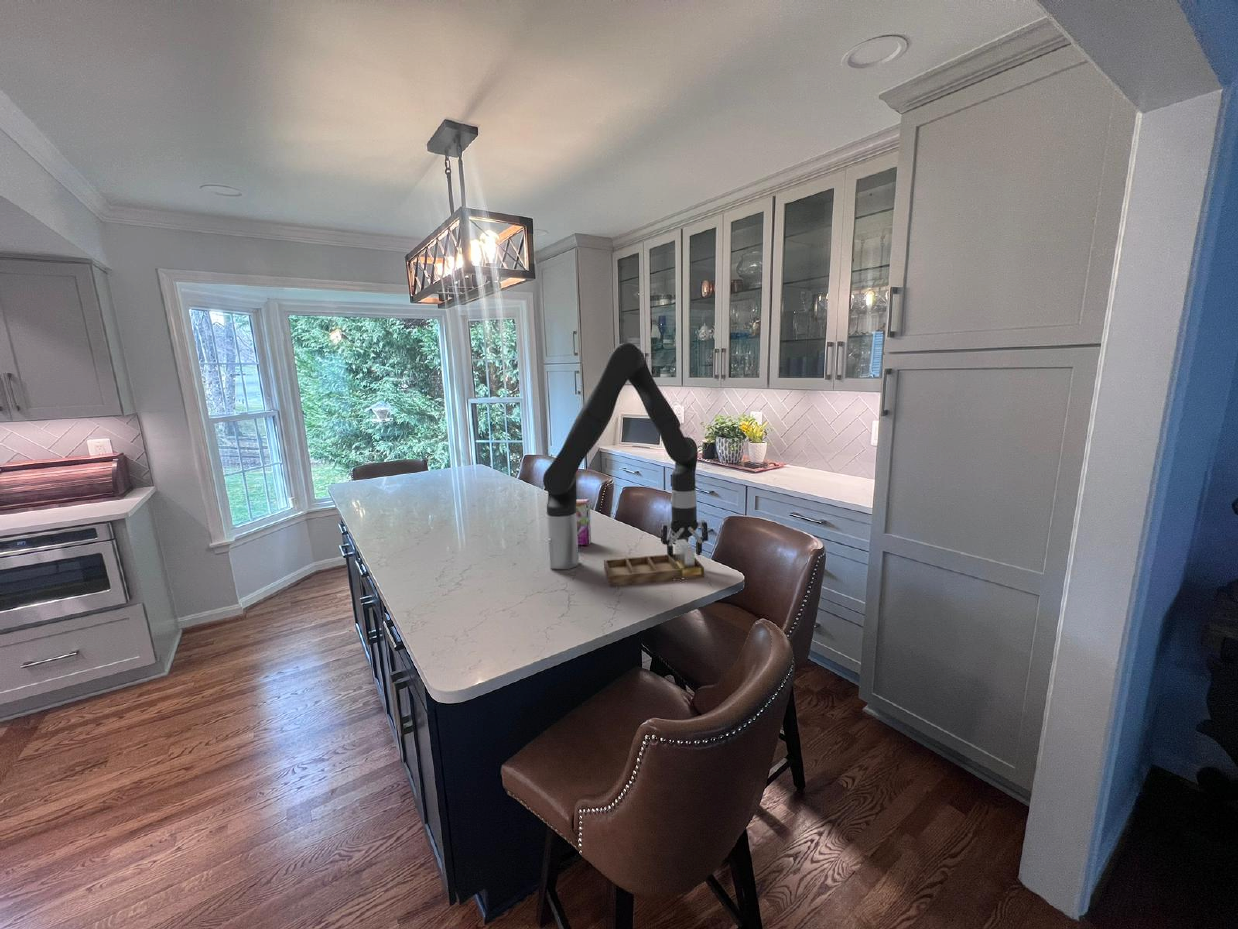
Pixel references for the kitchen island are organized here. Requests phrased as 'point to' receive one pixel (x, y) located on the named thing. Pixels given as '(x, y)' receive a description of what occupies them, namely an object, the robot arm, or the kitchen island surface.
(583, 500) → the candy bar box
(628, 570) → the rack
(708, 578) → the kitchen island surface
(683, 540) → the panel
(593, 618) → the kitchen island surface
